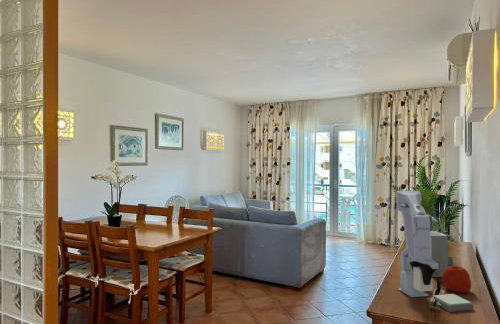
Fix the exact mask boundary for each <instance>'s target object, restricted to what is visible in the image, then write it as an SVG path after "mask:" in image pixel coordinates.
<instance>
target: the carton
mask: <svg viewBox="0 0 500 324" xmlns="http://www.w3.org/2000/svg"><path fill="white" fill-rule="evenodd" d="M413 276H414V288H415V289H417V290H418V291H420V292H422V291H424V292H431V291H433V289H434V288H433V278H432V279H431V283H430V285H424V283H423V275H422V271H421V269H420V267H413Z"/></svg>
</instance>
